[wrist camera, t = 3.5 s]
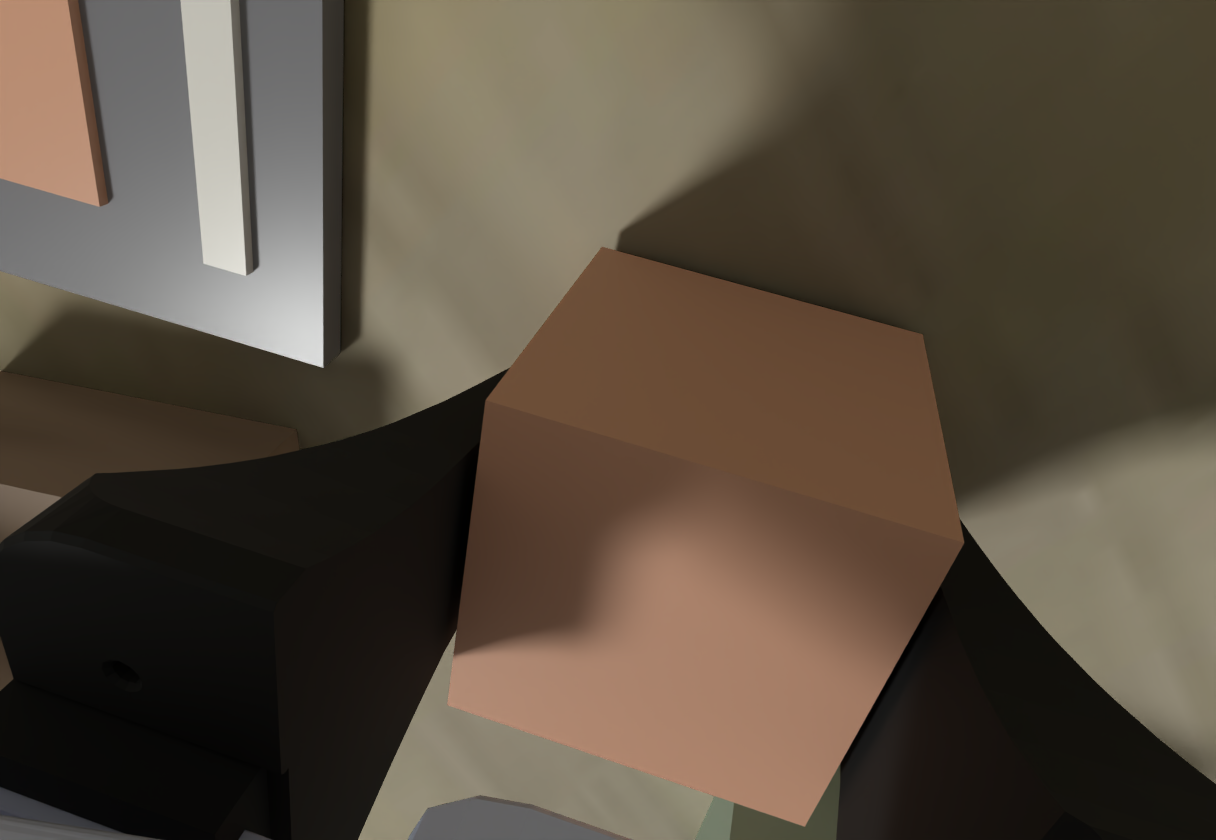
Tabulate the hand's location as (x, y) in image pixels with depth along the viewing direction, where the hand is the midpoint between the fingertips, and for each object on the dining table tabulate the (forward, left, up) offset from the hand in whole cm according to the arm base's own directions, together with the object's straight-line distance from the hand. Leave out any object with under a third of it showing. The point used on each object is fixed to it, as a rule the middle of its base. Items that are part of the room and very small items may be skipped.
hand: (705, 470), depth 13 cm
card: (+3, +12, -2) cm, 12 cm away
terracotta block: (0, 0, -1) cm, 1 cm away
